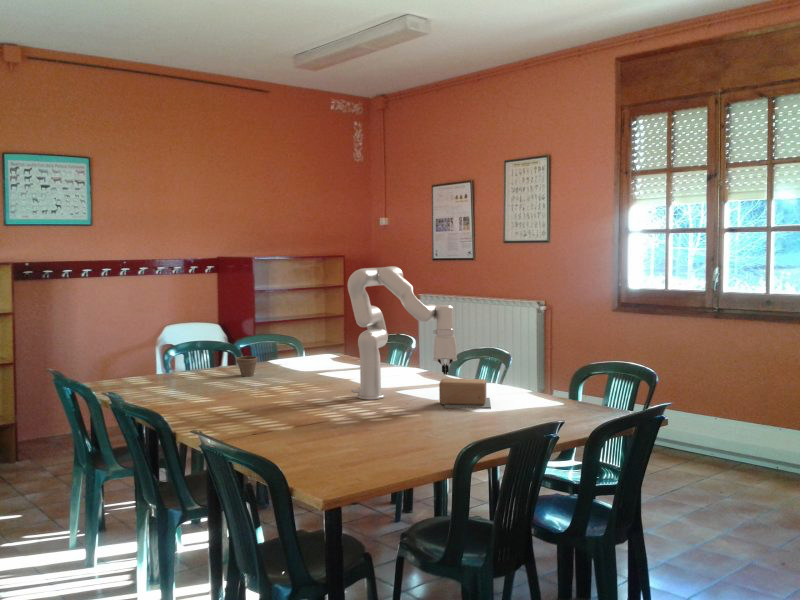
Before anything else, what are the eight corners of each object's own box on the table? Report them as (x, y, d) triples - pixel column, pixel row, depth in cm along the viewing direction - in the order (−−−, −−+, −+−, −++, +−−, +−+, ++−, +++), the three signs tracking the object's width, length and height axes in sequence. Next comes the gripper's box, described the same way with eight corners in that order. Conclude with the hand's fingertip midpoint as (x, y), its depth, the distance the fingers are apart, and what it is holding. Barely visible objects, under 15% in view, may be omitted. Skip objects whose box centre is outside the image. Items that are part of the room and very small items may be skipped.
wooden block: (439, 404, 338) (484, 405, 334) (439, 382, 337) (484, 383, 334) (442, 399, 348) (486, 401, 344) (442, 378, 347) (486, 379, 343)
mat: (444, 408, 334) (444, 406, 334) (445, 398, 353) (445, 397, 353) (490, 408, 332) (490, 407, 332) (489, 399, 352) (489, 397, 352)
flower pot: (249, 378, 413) (249, 359, 412) (232, 376, 418) (232, 358, 417) (262, 374, 423) (261, 356, 423) (245, 373, 428) (245, 355, 428)
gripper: (427, 334, 338) (428, 375, 339) (461, 333, 337) (462, 375, 338) (428, 332, 346) (429, 372, 347) (461, 332, 344) (462, 372, 346)
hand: (445, 373), depth 342 cm, fingers closed
